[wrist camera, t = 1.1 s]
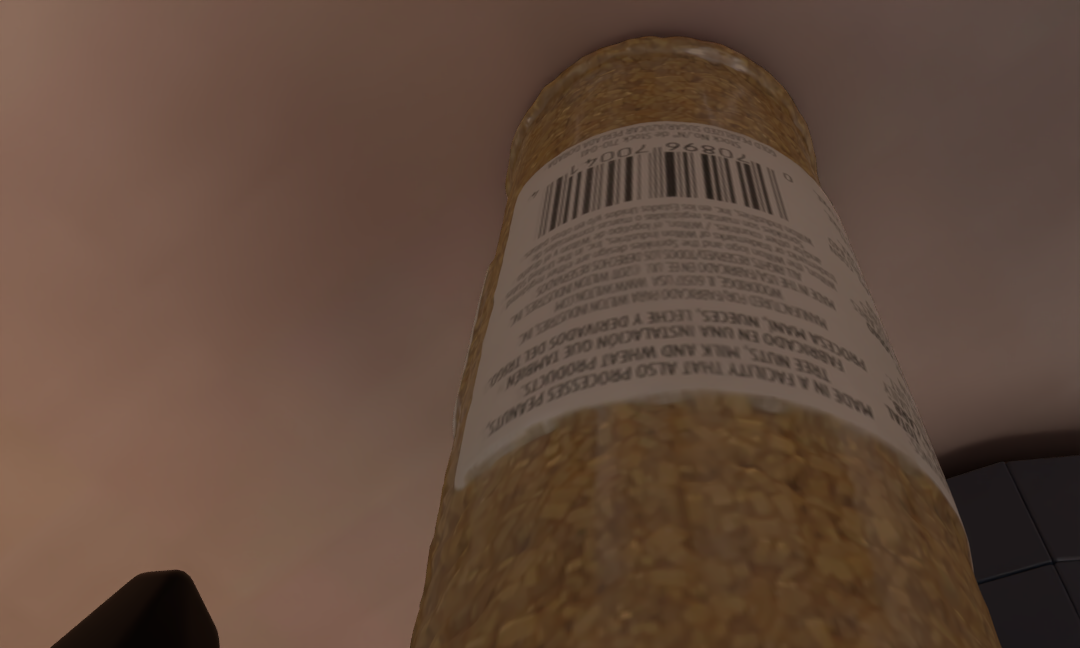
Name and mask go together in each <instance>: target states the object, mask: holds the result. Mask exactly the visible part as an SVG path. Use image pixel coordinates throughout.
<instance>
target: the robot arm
mask: <svg viewBox="0 0 1080 648" xmlns="http://www.w3.org/2000/svg"><path fill="white" fill-rule="evenodd" d="M51 648H220V645H219V637H218V632H217V629H216V627H215V625H214V623H213V621H212V619H211V616H210V614H209V612H208V610H207V608H206V606H205V604H204V602H203V600H202V598H201V596H200V594H199V592H198V590H197V588H196V586H195V584H194V582H193V580H192V579H191V577H190V576H189V575H188V574H186V573H185V572H184V571H180V570H167V571H155V572H146V573H142V574H139V575H137V576H135V577H134V578H133V579H131V580H130V581H129V582H128V583H127V584H125V585H124V586H123V587H122V588H121V589H119V590H118V591H117V592H116V593H115V594H114V595H112V596H111V597H110V598H109V599H108V600H106V601H105V602H104V603H103V604H102V605H100V606H99V607H98V608H97V609H96V610H95V611H93V612H92V613H91V614H90V615H89V616H87V617H86V618H85V619H84V620H83V621H81V622H80V623H79V624H78V625H77V626H76V627H74V628H73V629H72V630H71V631H70V632H68V633H67V634H66V635H65V636H64V637H62V638H61V639H60V640H59V641H58V642H57V643H55V644H54V645H53V646H52V647H51Z"/></svg>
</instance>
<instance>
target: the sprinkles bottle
mask: <svg viewBox="0 0 1080 648" xmlns="http://www.w3.org/2000/svg"><path fill="white" fill-rule="evenodd" d="M505 189H506V194H507V197H508V200H507V205H506V209H505V214H504V218H503V224H502V229H501V233H500V237H499V242H498V246H497V250H496V255H495V258H494V260H493V261H492V263H491V264H490V265H489V267H488V269H487V272H486V275H485V278H484V282H483V286H482V291H481V295H480V299H479V303H478V307H477V311H476V315H475V319H474V324H473V327H472V331H471V336H470V341H469V346H468V351H467V355H466V359H465V364H464V368H463V372H462V377H461V381H460V385H459V390H458V394H457V399H456V403H455V408H454V413H453V438H454V443H453V447H452V451H451V455H450V458H449V462H448V466H447V470H446V474H445V480H444V485H443V488H442V495H441V502H440V508H439V513H438V517H437V522H436V527H435V534H434V538H433V540H432V543H431V545H430V550H429V557H428V564H427V572H426V580H425V586H424V592H423V596H422V599H421V602H420V610H419V613H418V615H417V619H416V622H415V626H414V630H413V634H412V639H411V644H410V648H1002V647H1001V645H1000V642H999V640H998V637H997V634H996V631H995V628H994V625H993V622H992V619H991V616H990V613H989V610H988V607H987V605H986V603H985V601H984V599H983V597H982V594H981V592H980V589H979V586H978V584H977V581H976V578H975V576H974V570H973V563H972V558H971V552H970V546H969V541H968V538H967V535H966V532H965V529H964V526H963V523H962V521H961V518H960V515H959V513H958V510H957V507H956V505H955V502H954V499H953V497H952V494H951V492H950V489H949V487H948V484H947V482H946V479H945V477H944V474H943V472H942V469H941V467H940V464H939V462H938V460H937V457H936V455H935V452H934V450H933V447H932V445H931V442H930V440H929V437H928V435H927V432H926V430H925V427H924V425H923V422H922V420H921V417H920V415H919V413H918V410H917V408H916V405H915V403H914V400H913V398H912V395H911V393H910V390H909V388H908V385H907V383H906V380H905V378H904V376H903V373H902V371H901V368H900V366H899V364H898V361H897V359H896V357H895V354H894V352H893V349H892V347H891V345H890V342H889V340H888V337H887V335H886V332H885V329H884V327H883V324H882V322H881V319H880V317H879V314H878V312H877V309H876V307H875V304H874V302H873V299H872V297H871V295H870V292H869V290H868V287H867V285H866V282H865V280H864V277H863V274H862V272H861V269H860V267H859V264H858V261H857V259H856V256H855V254H854V252H853V249H852V247H851V244H850V242H849V239H848V237H847V234H846V232H845V230H844V227H843V225H842V223H841V220H840V218H839V216H838V214H837V212H836V210H835V209H834V207H833V205H832V204H831V202H830V200H829V198H828V197H827V195H826V194H825V193H824V192H823V190H822V189H821V187H820V182H819V179H818V176H817V162H816V156H815V153H814V150H813V144H812V139H811V136H810V133H809V129H808V126H807V124H806V122H805V120H804V119H803V117H802V116H801V114H800V113H799V111H798V110H797V108H796V106H795V104H794V102H793V100H792V99H791V97H790V96H789V94H788V92H787V91H786V90H785V89H784V88H783V86H782V85H781V84H780V83H779V82H778V81H777V80H776V79H775V78H774V77H773V76H772V75H771V74H770V73H769V72H767V71H766V70H765V69H763V68H762V67H761V66H759V65H757V64H755V63H754V62H753V61H751V60H750V59H749V58H747V57H746V56H744V55H743V54H740V53H738V52H736V51H734V50H732V49H730V48H728V47H726V46H724V45H722V44H718V43H714V42H708V41H701V40H697V39H693V38H689V37H682V36H674V37H666V38H659V37H655V36H646V37H641V38H635V39H629V40H626V41H624V42H621V43H618V44H615V45H611V46H607V47H604V48H600V49H598V50H597V51H595V52H593V53H591V54H588V55H586V56H584V57H582V58H581V59H580V60H578V61H577V62H576V63H575V64H573V65H572V66H570V67H569V68H567V69H566V70H565V71H564V72H562V73H561V74H560V75H559V76H558V77H557V78H556V79H555V80H554V81H553V82H551V83H549V84H548V85H546V86H545V87H544V88H543V89H542V91H541V93H540V94H539V96H538V97H537V99H536V101H535V102H534V103H533V105H532V106H531V108H530V109H529V110H528V111H527V112H526V114H525V116H524V118H523V119H522V121H521V123H520V124H519V126H518V128H517V130H516V133H515V136H514V138H513V141H512V145H511V149H510V159H509V166H508V171H507V176H506V183H505Z"/></svg>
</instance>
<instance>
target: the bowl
mask: <svg viewBox="0 0 1080 648" xmlns="http://www.w3.org/2000/svg"><path fill="white" fill-rule="evenodd" d="M946 482H947V484H948V487H949V489H950V492H951V494H952V497H953V499H954V502H955V505H956V507H957V510H958V513H959V515H960V518H961V521H962V523H963V526H964V529H965V532H966V535H967V538H968V541H969V546H970V552H971V558H972V563H973V570H974V576H975V578H976V581H977V584H978V586H979V589H980V592H981V594H982V597H983V599H984V601H985V603H986V605H987V607H988V610H989V613H990V616H991V619H992V622H993V625H994V628H995V631H996V634H997V637H998V640H999V642H1000V645H1001V647H1002V648H1080V455H1070V456H1059V457H1048V458H1036V459H1025V460H1013V461H1008V462H1006V463H1005V462H1003V461H1001V462H998V463H995V464H991V465H988V466H985V467H982V468H979V469H976V470H973V471H969V472H966V473H963V474H960V475H957V476H954V477H951V478H948V479H946Z"/></svg>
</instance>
